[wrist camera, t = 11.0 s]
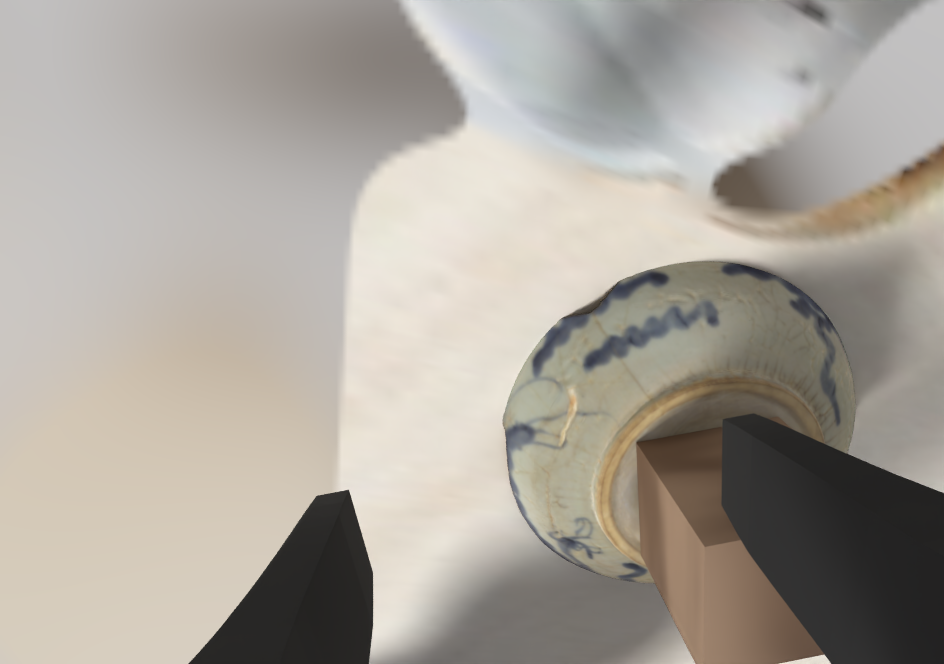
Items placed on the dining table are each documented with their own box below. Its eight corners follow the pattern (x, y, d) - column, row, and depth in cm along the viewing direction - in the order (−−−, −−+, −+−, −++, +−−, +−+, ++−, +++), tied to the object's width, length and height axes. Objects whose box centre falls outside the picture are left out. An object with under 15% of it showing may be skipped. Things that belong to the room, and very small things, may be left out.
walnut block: (640, 555, 22) (703, 678, 17) (636, 442, 20) (704, 546, 15) (770, 530, 22) (866, 645, 17) (777, 416, 20) (888, 512, 15)
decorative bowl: (601, 188, 20) (433, 522, 25) (642, 206, 17) (439, 590, 21) (915, 335, 24) (720, 603, 28) (1001, 375, 20) (763, 672, 25)
